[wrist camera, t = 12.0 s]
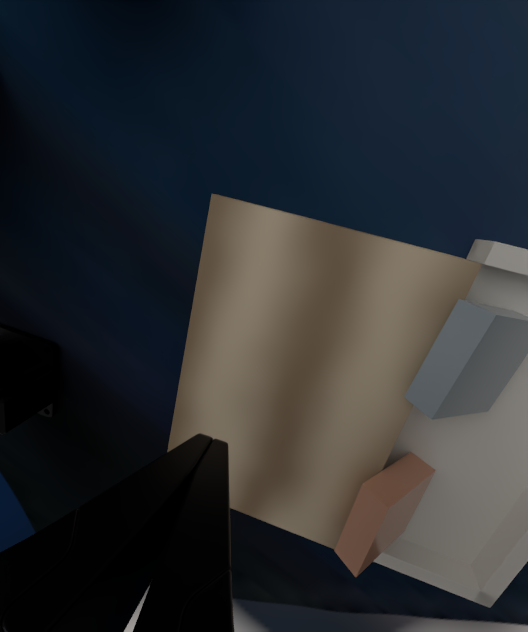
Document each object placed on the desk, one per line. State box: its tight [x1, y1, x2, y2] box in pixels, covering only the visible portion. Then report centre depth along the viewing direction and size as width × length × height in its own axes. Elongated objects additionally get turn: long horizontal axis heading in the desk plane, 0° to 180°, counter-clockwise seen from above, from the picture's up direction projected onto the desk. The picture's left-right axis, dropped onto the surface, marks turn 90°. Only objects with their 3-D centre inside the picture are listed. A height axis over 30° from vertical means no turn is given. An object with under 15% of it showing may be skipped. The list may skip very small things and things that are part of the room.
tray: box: [373, 239, 528, 608], centre depth 17 cm, size 9×20×2 cm, turn 166°
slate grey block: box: [404, 299, 528, 420], centre depth 14 cm, size 5×5×2 cm
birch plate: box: [167, 194, 482, 549], centre depth 18 cm, size 12×18×3 cm, turn 166°
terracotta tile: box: [334, 452, 436, 577], centre depth 17 cm, size 5×5×2 cm
